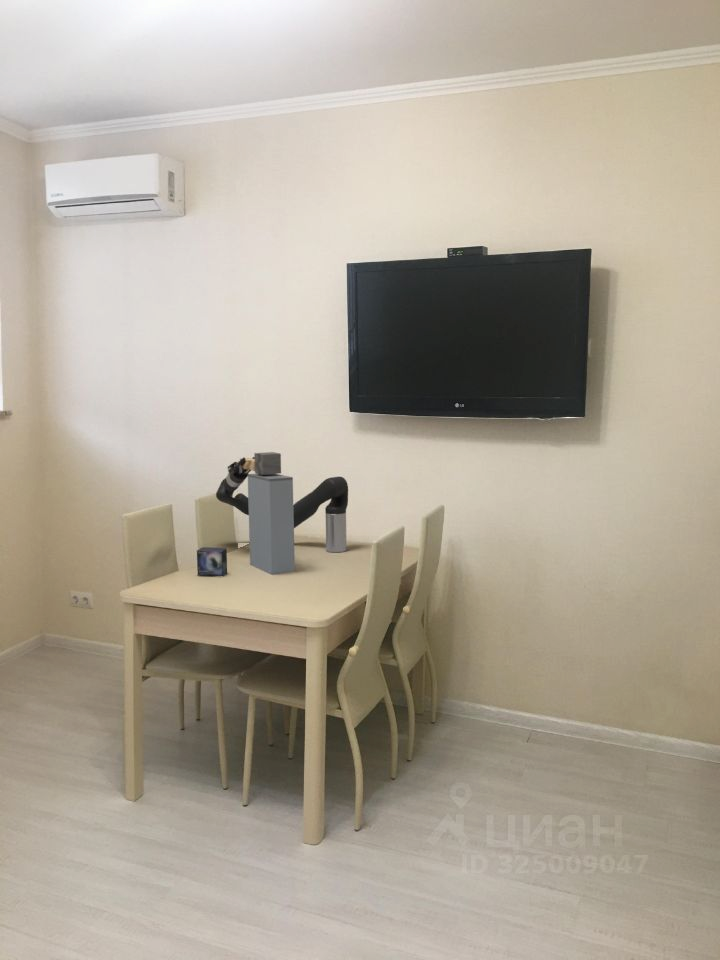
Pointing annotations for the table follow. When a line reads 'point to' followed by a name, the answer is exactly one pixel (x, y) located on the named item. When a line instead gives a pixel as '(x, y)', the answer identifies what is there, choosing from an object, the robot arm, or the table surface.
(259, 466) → the peg
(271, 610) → the table surface
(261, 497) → the stand
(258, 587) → the table surface
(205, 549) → the small box
